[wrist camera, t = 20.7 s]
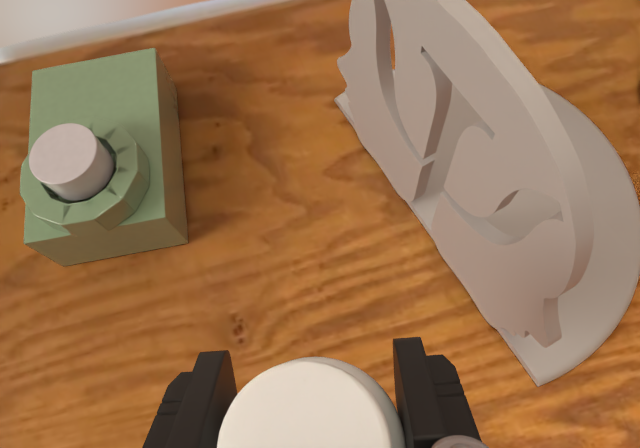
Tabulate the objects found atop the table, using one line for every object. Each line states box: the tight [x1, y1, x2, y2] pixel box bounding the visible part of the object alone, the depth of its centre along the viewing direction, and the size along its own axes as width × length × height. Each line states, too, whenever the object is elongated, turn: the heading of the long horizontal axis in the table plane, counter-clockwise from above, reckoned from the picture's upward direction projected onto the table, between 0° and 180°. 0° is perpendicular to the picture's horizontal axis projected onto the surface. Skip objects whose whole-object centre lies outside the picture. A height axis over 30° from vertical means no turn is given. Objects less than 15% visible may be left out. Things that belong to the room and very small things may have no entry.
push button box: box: [20, 48, 188, 266], centre depth 33 cm, size 12×8×6 cm, turn 10°
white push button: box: [29, 123, 114, 201], centre depth 28 cm, size 4×4×2 cm
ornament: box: [334, 0, 640, 387], centre depth 25 cm, size 22×13×17 cm, turn 30°
